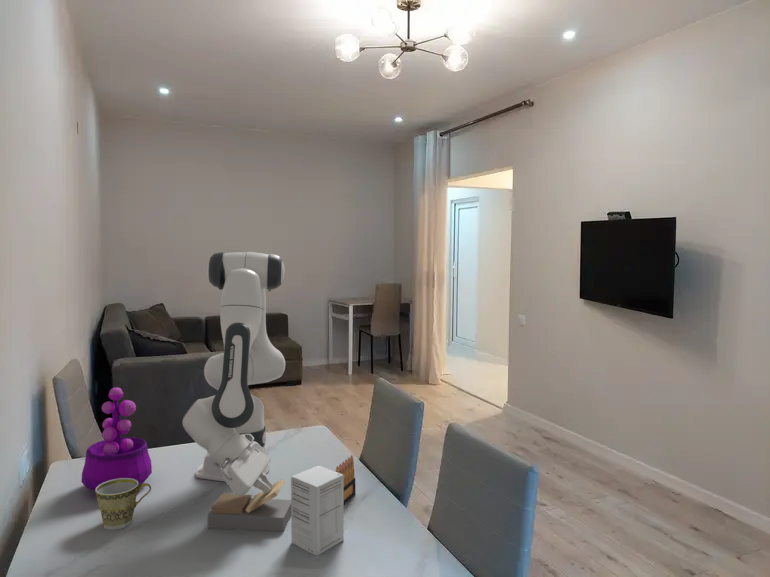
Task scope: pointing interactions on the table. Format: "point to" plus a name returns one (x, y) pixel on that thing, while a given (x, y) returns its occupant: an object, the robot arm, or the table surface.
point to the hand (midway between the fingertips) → (270, 489)
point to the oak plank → (265, 496)
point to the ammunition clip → (348, 478)
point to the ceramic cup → (118, 501)
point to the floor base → (249, 514)
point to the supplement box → (317, 509)
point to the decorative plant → (116, 448)
